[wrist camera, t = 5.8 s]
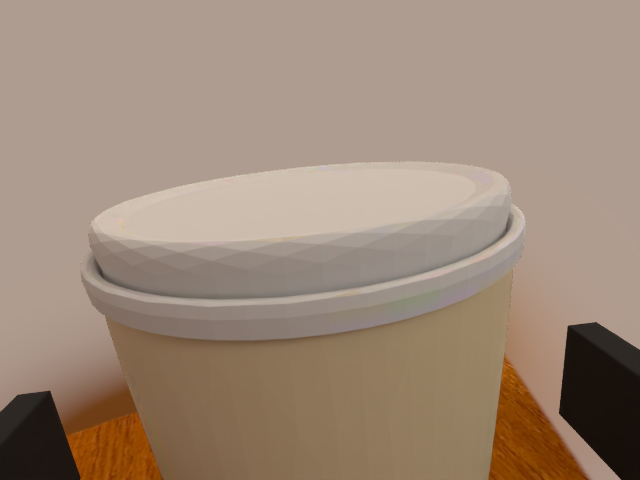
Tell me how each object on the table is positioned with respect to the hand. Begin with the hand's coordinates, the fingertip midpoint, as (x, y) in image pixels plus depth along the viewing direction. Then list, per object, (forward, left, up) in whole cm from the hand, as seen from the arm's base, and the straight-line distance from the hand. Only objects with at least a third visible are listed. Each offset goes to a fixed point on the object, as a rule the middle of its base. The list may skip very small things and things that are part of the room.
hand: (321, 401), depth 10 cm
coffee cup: (0, 0, -7) cm, 7 cm away
